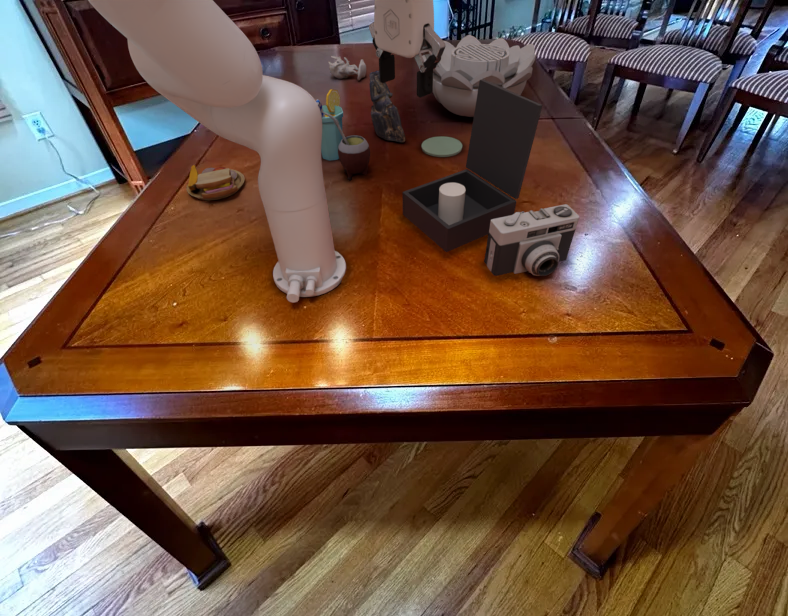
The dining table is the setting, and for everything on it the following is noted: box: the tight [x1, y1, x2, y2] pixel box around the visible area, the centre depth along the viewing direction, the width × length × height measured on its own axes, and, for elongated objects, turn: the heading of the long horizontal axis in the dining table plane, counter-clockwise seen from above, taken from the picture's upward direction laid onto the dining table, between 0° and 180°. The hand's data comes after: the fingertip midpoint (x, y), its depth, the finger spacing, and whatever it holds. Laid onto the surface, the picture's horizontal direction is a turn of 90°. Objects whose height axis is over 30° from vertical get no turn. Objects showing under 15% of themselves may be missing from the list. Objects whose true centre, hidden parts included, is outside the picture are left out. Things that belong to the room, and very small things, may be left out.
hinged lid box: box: [401, 168, 517, 253], centre depth 86 cm, size 16×15×6 cm
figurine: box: [328, 55, 367, 82], centre depth 145 cm, size 9×6×12 cm
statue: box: [368, 69, 406, 143], centre depth 110 cm, size 6×12×15 cm, turn 39°
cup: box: [315, 88, 344, 161], centre depth 103 cm, size 14×8×15 cm, turn 169°
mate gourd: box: [322, 111, 371, 182], centre depth 97 cm, size 8×8×15 cm
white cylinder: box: [438, 183, 466, 225], centre depth 84 cm, size 5×5×7 cm
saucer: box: [421, 135, 463, 158], centre depth 110 cm, size 10×10×1 cm
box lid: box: [465, 79, 543, 200], centre depth 81 cm, size 16×15×1 cm
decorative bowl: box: [422, 34, 537, 118], centre depth 120 cm, size 30×30×15 cm
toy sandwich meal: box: [185, 164, 246, 201], centre depth 98 cm, size 12×14×5 cm
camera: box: [483, 203, 580, 277], centre depth 74 cm, size 14×8×10 cm, turn 106°
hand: (405, 87), depth 79 cm, fingers open, 9 cm apart
